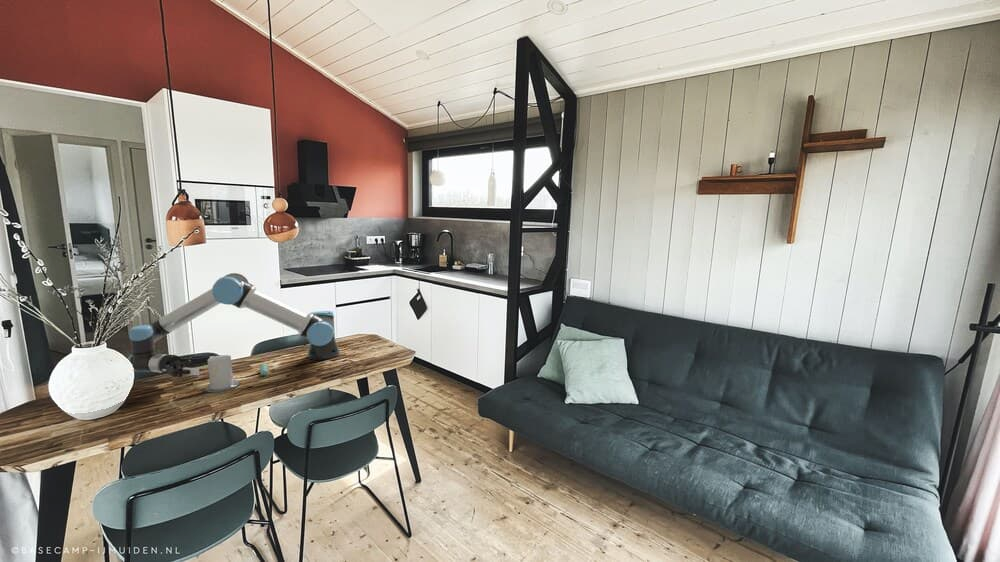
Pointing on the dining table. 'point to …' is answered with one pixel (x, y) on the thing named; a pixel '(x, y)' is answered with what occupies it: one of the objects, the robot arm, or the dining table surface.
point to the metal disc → (235, 384)
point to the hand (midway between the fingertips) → (212, 365)
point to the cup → (220, 372)
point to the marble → (264, 371)
